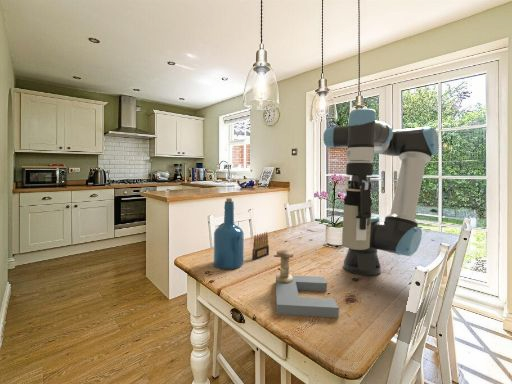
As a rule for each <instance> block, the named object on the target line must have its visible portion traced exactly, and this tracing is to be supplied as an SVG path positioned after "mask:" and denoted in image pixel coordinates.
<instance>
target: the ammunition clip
mask: <svg viewBox="0 0 512 384" xmlns="http://www.w3.org/2000/svg"><path fill="white" fill-rule="evenodd" d="M252 246H253V247H252V255H251V260H252V261H253V260H254V261H257V260H260V259H262V258H265V257H268V256H269V254H270V251H269V250H270V246H269V233H268V231H266V232H264V233H263V232H261V233H259V234H257V235H256V234H255V235H254V237H253V245H252Z"/></svg>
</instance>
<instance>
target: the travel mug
mask: <svg viewBox="0 0 512 384" xmlns="http://www.w3.org/2000/svg"><path fill="white" fill-rule="evenodd" d="M345 192H346V194H345V197H344V198H343V215H342V217H343V218H342V219H343V220H342V238H341V239H342V240H341V245H342V246H343V247H344V248H347V249H349V248H350V249H355V250H365V249H368V248H369V247H370V229H371V217H370V218H368V219H367V230H366V240H356V223H357V218H356V216H358V197H357V195H356V193H357V194H359V195H360V190H359V189H354V188H348V187H346V188H345ZM371 192H372V189H371ZM372 205H373V199H372V198H371V212H373V211H372V208H373V207H372Z"/></svg>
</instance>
